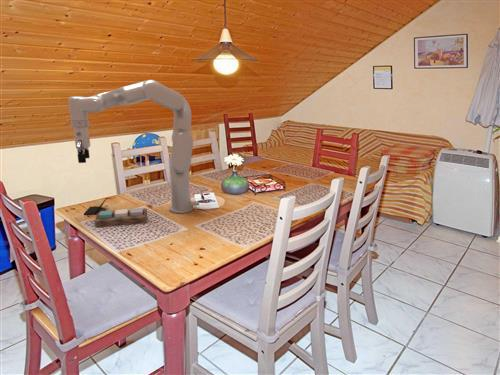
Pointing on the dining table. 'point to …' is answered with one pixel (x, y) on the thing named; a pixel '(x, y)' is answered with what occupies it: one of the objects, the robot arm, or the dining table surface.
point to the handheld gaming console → (94, 209)
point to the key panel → (121, 220)
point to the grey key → (136, 212)
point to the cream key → (121, 213)
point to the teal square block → (106, 214)
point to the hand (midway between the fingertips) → (84, 160)
